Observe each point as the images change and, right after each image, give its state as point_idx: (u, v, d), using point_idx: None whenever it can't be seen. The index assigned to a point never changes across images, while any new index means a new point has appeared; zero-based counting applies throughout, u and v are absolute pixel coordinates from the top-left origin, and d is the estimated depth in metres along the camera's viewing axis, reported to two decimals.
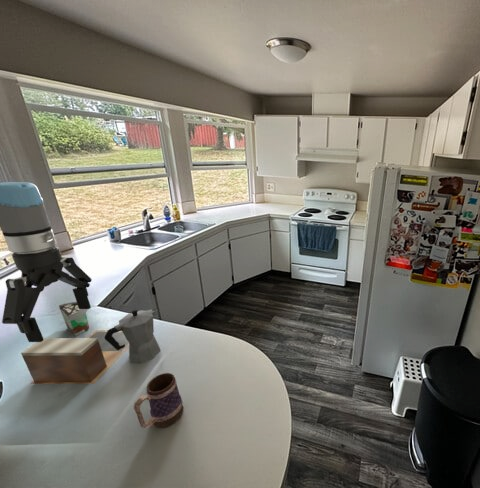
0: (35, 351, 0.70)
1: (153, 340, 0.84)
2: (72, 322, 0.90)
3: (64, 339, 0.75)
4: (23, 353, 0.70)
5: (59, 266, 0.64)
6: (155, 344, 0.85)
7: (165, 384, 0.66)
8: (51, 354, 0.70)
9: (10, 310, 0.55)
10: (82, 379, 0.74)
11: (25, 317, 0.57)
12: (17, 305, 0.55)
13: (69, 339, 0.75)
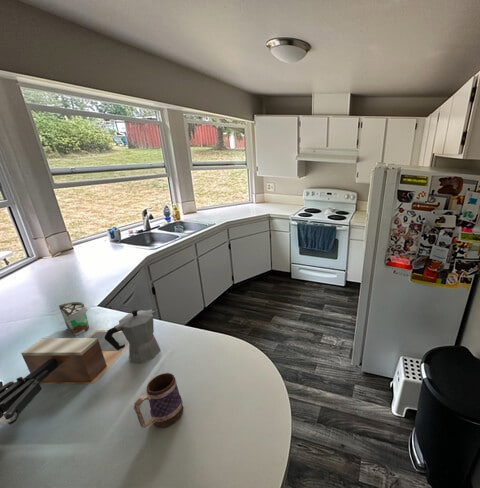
0: (35, 351, 0.70)
1: (153, 340, 0.84)
2: (72, 322, 0.90)
3: (64, 339, 0.75)
4: (23, 353, 0.70)
5: None
6: (155, 344, 0.85)
7: (165, 384, 0.66)
8: (51, 354, 0.70)
9: None
10: (82, 379, 0.74)
11: None
12: None
13: (69, 339, 0.75)
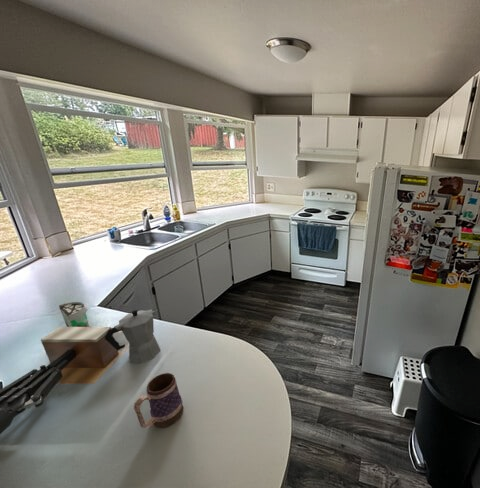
0: (54, 338, 0.75)
1: (153, 340, 0.84)
2: (72, 322, 0.90)
3: (80, 328, 0.80)
4: (43, 340, 0.75)
5: None
6: (155, 344, 0.85)
7: (165, 384, 0.66)
8: (68, 341, 0.75)
9: None
10: (97, 365, 0.79)
11: None
12: None
13: (84, 327, 0.80)
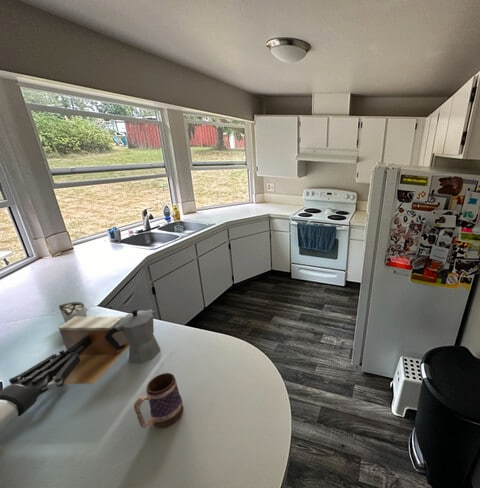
0: (70, 326, 0.81)
1: (153, 340, 0.84)
2: None
3: (94, 317, 0.85)
4: (60, 328, 0.80)
5: None
6: (155, 344, 0.85)
7: (165, 384, 0.66)
8: (84, 329, 0.81)
9: None
10: (110, 352, 0.84)
11: None
12: None
13: (98, 317, 0.86)
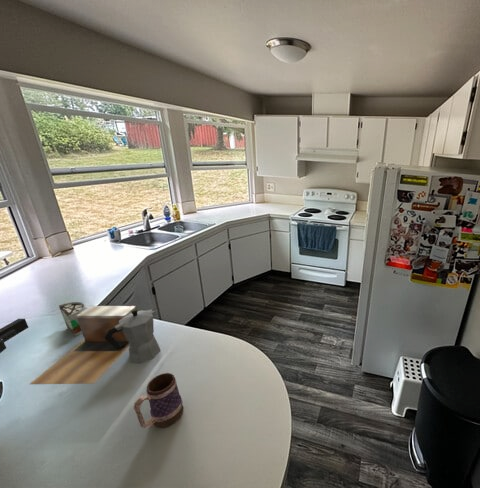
0: (87, 314, 0.87)
1: (153, 340, 0.84)
2: (72, 322, 0.90)
3: (109, 307, 0.91)
4: (78, 316, 0.86)
5: None
6: (155, 344, 0.85)
7: (165, 384, 0.66)
8: (100, 317, 0.87)
9: None
10: (124, 339, 0.90)
11: None
12: None
13: (113, 306, 0.92)
